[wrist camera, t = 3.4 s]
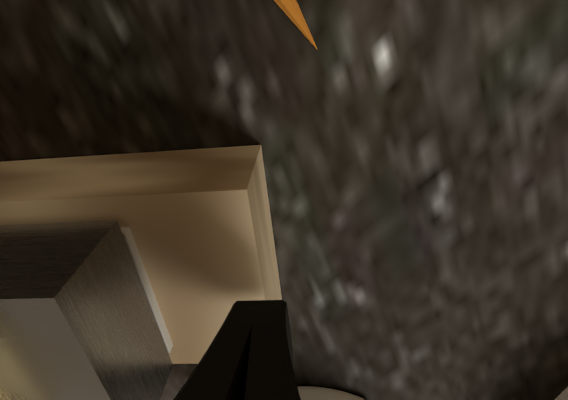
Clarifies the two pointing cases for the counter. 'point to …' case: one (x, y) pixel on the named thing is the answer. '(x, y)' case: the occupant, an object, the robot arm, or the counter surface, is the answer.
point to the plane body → (166, 227)
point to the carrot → (295, 17)
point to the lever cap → (76, 316)
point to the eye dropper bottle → (324, 394)
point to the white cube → (563, 395)
